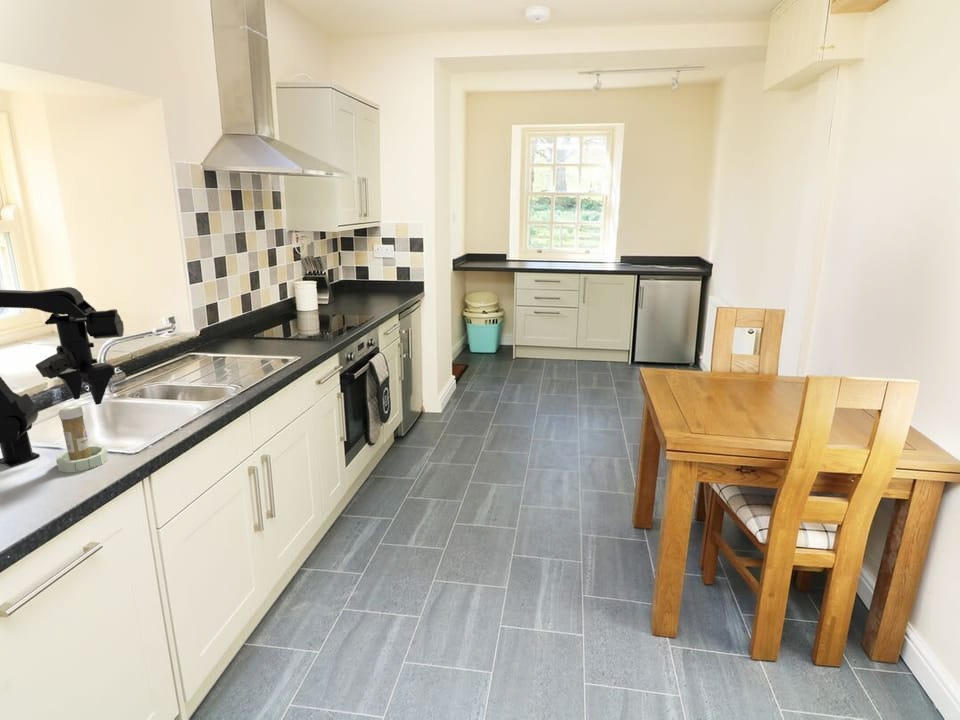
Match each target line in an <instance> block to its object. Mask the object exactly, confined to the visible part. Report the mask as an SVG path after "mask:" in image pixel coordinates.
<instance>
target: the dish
mask: <svg viewBox="0 0 960 720" xmlns="http://www.w3.org/2000/svg"><path fill="white" fill-rule="evenodd" d="M89 448H90V453H91V457H89V458H85V459H80V460H73V461H70V457H69V452H68V450H66V451H64V452H61V453H60V454H59V455H57V456H56V459H55V460H56V464H57V469H58V471H59V472H63V473H78V472H84V471H88V469H89V470H91V468H92V469H94V468H97V467H100V466H102V465H104V464H105V463H106V462H108V461H109V453H108V447H107V446H105V445H102V444H89ZM105 461H106V462H105ZM104 462H105V463H104ZM101 464H102V465H101ZM99 465H100V466H99ZM96 466H97V467H96ZM93 467H94V468H93Z"/></svg>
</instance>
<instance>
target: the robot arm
mask: <svg viewBox="0 0 960 720" xmlns="http://www.w3.org/2000/svg"><path fill="white" fill-rule="evenodd" d="M83 296H84V295H83V294H82V292H80V290H78V288H75V287H72V286H71V287H70V286H68V287H67V286H65V287H57V288H49V289H44V290H43V289H42V290H16V289H15V290H13V289H0V308H9V309H10V308H11V309H33V310H38V311H42V312H44V313H49V314H50V316H49V317H48V318H47V320H46V321H44V324H45V325H56V329H57V334H58V339H59V343H60V345H57V346H56V353H55V354H53V355H51V356H49V357H47V358H45V359H43V360H42V361H40V362H38V363H36V364H35V368H36V369H37V370H38V373H40V375H42V378H49V379H51V380H52V379H55V378H58V379H60V380H61V381H62V382H63V384H64V385H65V386H66V388H67V390H68V392H69V393H70V394H71V396H72V398H73V400H75V401H76V400H79V399H81V391H82V383H83V384H85V385H87V386H88V388H89V391H90V394H91V396H92V397H91V398H92V399H93V402H94V404H95V405H96V406H97V405H100V404H102V401H103V398H104V396H105V393H106V390H107V387H108V385H109V382H110V380H111V379H112V378H113V376H115V375H116V369H115V366H114V365H112V364H110V363H104V362H98V359H97V358H93V354H92V349H91V348H95V345H94V342H91V341H90V339H89V337H92V338H93V339H94V340H97V339H98V340H99V339H110V338H112V339H113V338H114V339H115V338H122V337H123V336H124V330H125V328H124V321H123V320H122V318H121V316H120V315H119V313H118V309H115V308H112V309H108V310H97V309H95V307H93V306H92V305H91V304H90V303H89V302H87V300H85V299H84V297H83ZM37 408H38V405H37V404H35V403H34V401H32V399H31V397H30V395H29V394H28V393H24V394H23V395H19V394H18V393H15V392H14V391H12V389H11V388H10V387H9V386H8V384H7V383H6V382H5V380H4V379H3V378H2V376H0V452H1V455H2V458H0V464H1V465H2V464H3V465H5V466H8V467H13V466H16V465H19V464H22V463H25V462H27V461H28V462H29V461H30V460H33V459H36V458H39V457H41V455H40V453H37V452H33V449H32V445H31V440H30V436H29V432H28V431H29V430H31V429H32V428H33V427H32V426H33V424H34V423H35V422H36V421H37V419H38V415H39V411H38V409H37Z"/></svg>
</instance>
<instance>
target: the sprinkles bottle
mask: <svg viewBox="0 0 960 720" xmlns="http://www.w3.org/2000/svg"><path fill="white" fill-rule="evenodd" d="M58 415H59V416H58V417H59V419H60V422H61V425H62V428H63V429H62V430H63V435H64V441H65V444H66V451H68V452H69V457H70V461H73V460H80V459H85V458H89V457H91V453H90V448H89V445H90V442H89V437H88V432H87V430H86V425H85V422H84V421H85V420H84V411H83V408H82V407H81V406H80V405H78V406H68V407H64V408H62V409H60V410H59V411H58Z"/></svg>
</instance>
